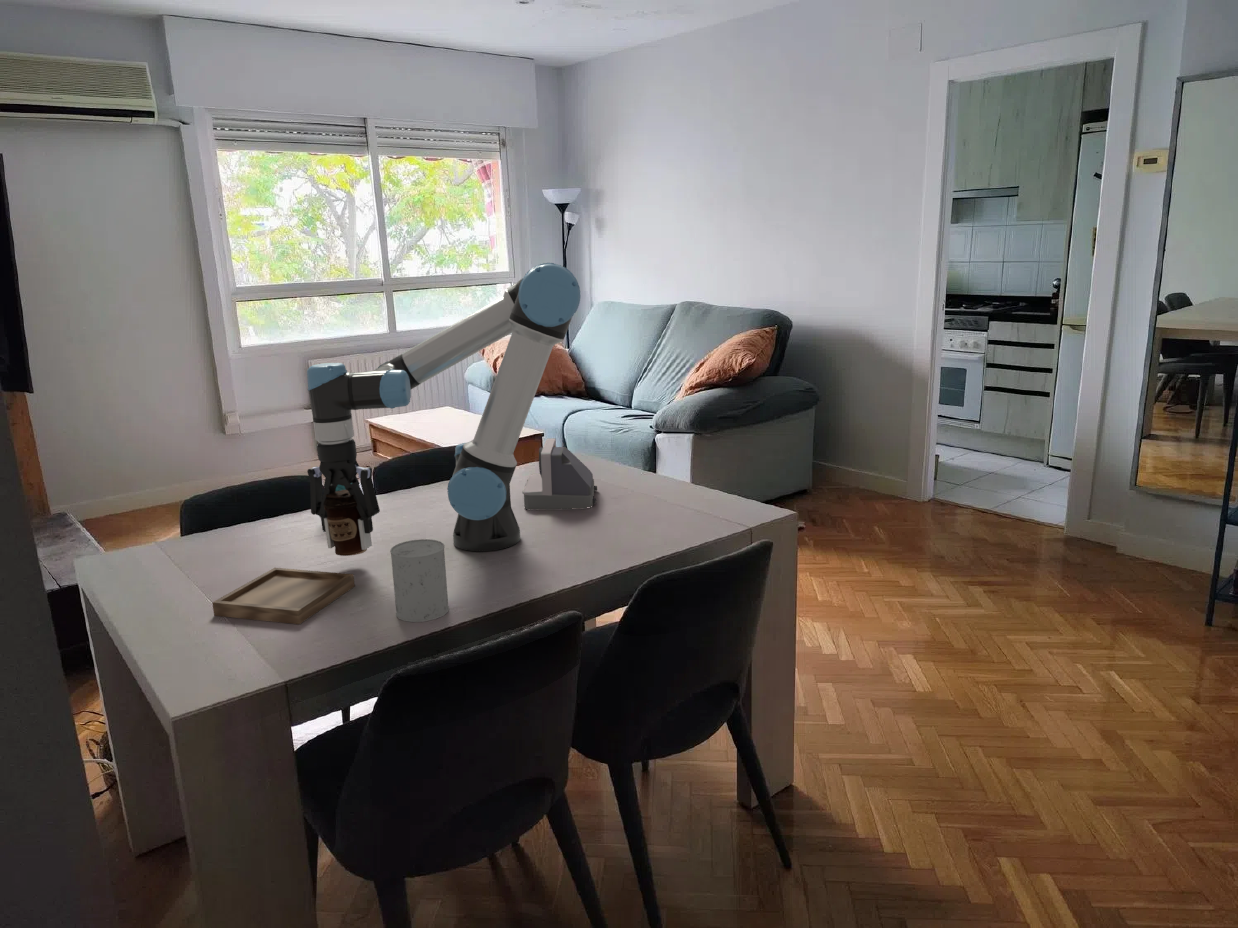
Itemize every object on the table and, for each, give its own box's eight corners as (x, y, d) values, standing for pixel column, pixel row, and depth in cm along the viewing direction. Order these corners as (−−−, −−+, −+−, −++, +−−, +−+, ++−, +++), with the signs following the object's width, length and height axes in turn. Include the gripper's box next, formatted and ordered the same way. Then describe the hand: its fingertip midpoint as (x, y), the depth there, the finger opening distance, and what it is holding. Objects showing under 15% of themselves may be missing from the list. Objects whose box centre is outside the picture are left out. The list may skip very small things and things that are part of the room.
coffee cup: (359, 560, 171) (350, 499, 168) (322, 558, 173) (313, 498, 170) (379, 545, 180) (371, 486, 177) (343, 544, 181) (335, 486, 178)
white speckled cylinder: (400, 602, 159) (395, 540, 156) (451, 599, 160) (447, 538, 157) (391, 623, 150) (385, 558, 147) (445, 620, 151) (441, 555, 148)
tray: (354, 586, 167) (353, 574, 166) (299, 624, 150) (297, 610, 150) (276, 579, 172) (274, 567, 171) (214, 615, 155) (212, 602, 154)
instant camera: (533, 488, 236) (531, 436, 232) (606, 490, 233) (605, 437, 229) (512, 510, 216) (509, 453, 212) (591, 512, 212) (589, 455, 209)
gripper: (389, 436, 172) (402, 542, 177) (303, 435, 177) (318, 539, 182) (369, 444, 164) (383, 555, 170) (280, 443, 170) (297, 551, 175)
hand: (350, 546), depth 176 cm, fingers closed on coffee cup, 7 cm apart
